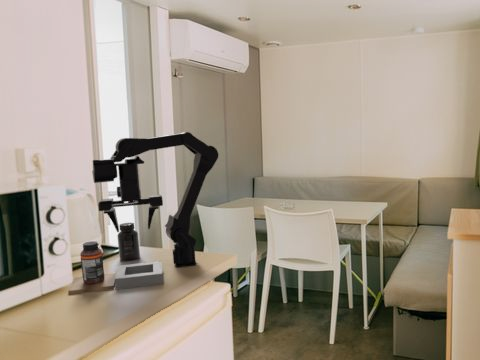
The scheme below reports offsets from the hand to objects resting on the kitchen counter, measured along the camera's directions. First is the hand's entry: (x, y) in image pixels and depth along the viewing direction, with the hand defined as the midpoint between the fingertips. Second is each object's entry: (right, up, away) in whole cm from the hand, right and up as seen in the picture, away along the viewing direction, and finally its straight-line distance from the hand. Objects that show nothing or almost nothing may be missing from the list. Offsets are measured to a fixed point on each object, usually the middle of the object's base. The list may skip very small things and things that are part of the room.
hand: (133, 230), depth 145 cm
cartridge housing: (+3, -14, -6) cm, 15 cm away
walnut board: (-10, -15, -8) cm, 19 cm away
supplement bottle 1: (-10, -14, -8) cm, 19 cm away
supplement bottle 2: (-5, -12, +18) cm, 22 cm away
